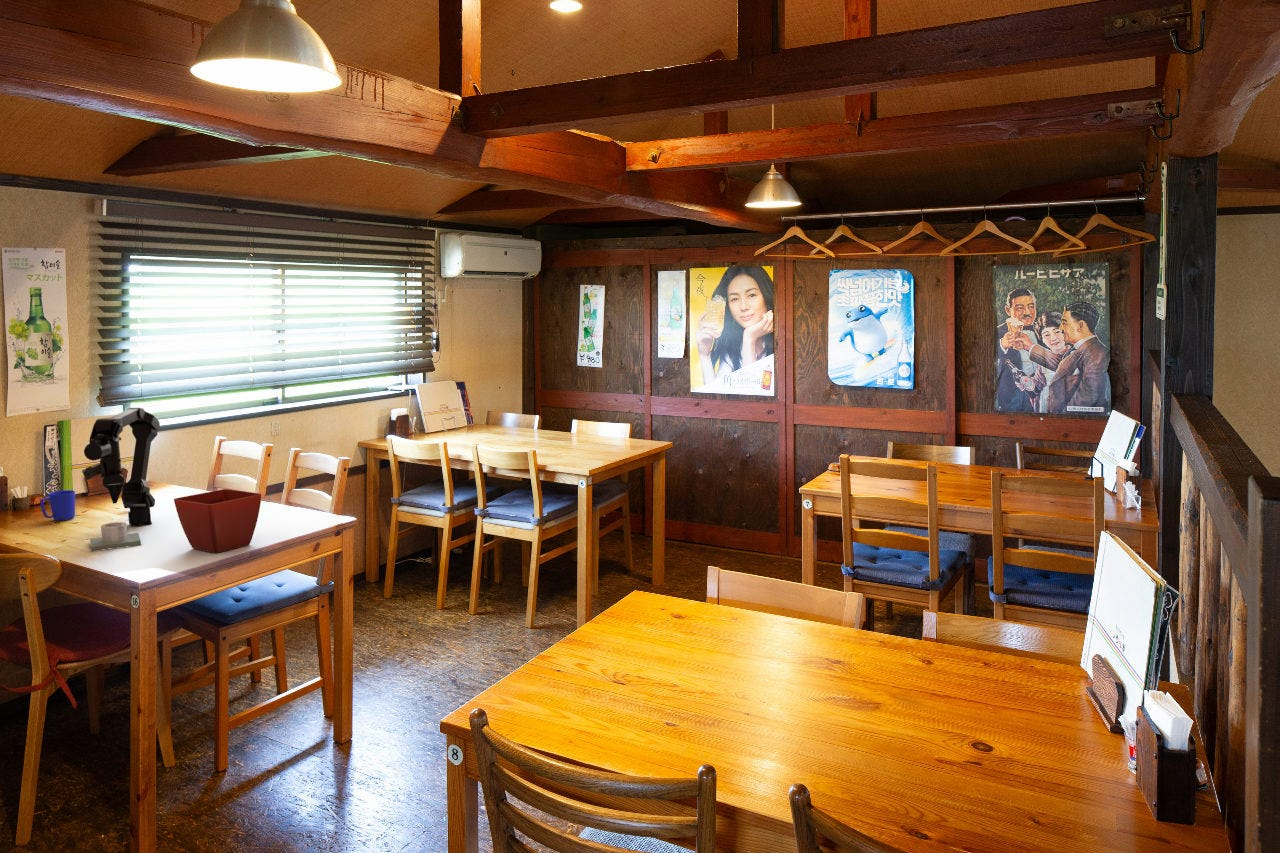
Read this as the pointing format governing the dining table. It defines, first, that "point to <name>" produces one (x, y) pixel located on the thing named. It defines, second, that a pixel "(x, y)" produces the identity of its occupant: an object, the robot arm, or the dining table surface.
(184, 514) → the plant pot
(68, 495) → the mug
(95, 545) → the post stand
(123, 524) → the tan faceted hollow ring
